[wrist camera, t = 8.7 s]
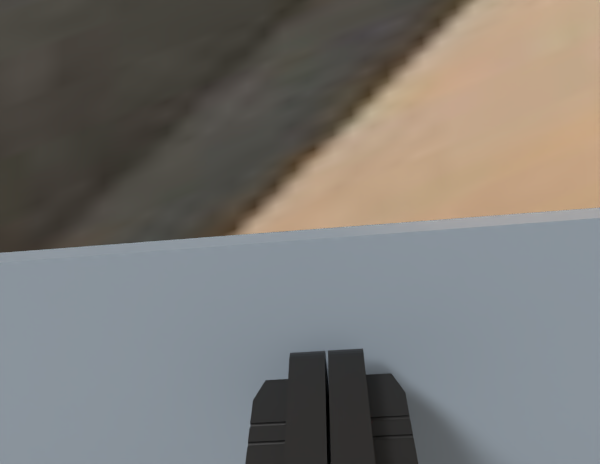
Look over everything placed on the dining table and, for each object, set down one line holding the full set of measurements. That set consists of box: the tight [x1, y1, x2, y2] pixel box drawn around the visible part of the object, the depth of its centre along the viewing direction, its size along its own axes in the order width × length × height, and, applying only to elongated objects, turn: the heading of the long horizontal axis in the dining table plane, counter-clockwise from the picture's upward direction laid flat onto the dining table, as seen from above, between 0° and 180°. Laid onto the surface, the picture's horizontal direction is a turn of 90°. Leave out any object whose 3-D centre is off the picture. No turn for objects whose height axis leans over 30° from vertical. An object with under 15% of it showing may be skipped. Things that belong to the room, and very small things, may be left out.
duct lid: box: [0, 208, 600, 464], centre depth 13 cm, size 10×24×1 cm, turn 93°
